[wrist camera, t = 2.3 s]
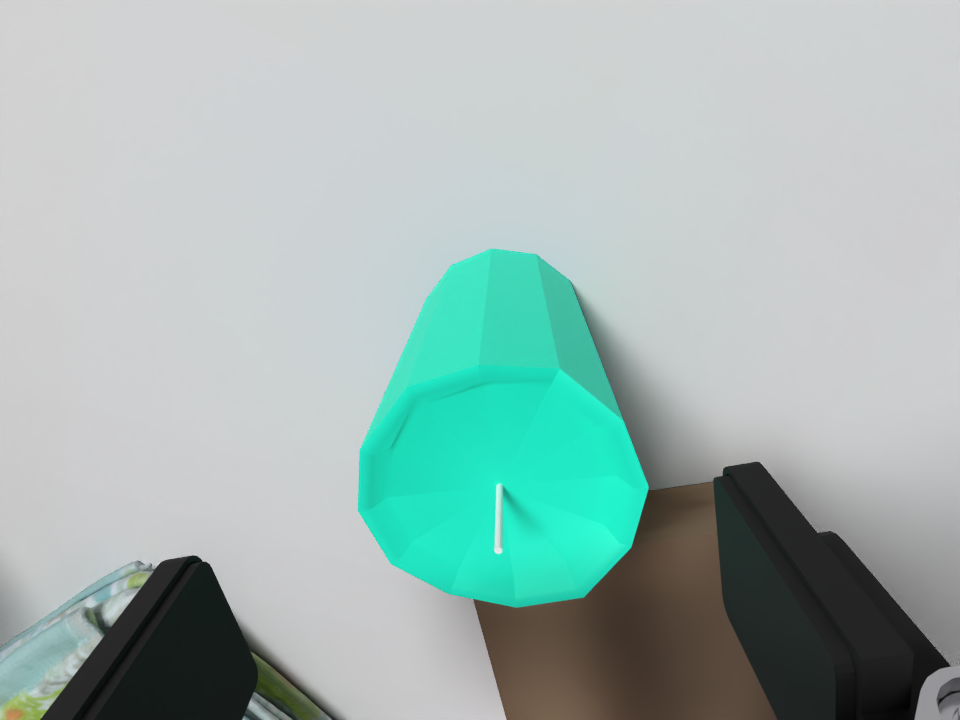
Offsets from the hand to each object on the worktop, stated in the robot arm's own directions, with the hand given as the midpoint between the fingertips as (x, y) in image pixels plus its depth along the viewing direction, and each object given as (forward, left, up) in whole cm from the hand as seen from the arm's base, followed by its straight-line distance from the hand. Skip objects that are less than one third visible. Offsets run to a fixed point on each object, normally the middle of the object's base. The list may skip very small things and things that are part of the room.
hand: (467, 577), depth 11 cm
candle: (-1, 0, -12) cm, 12 cm away
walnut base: (-4, +14, -12) cm, 19 cm away
